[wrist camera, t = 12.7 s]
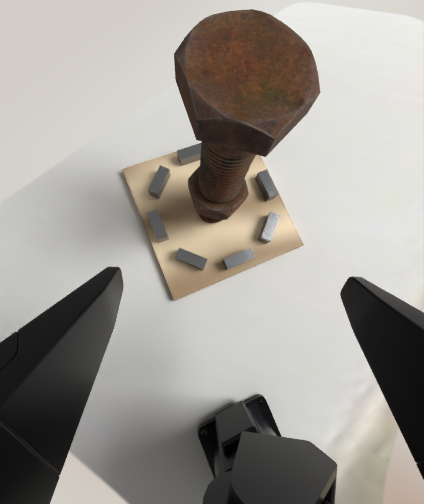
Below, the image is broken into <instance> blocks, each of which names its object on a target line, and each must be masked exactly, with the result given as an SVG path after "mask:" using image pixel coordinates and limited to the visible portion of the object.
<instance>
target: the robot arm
mask: <svg viewBox="0 0 424 504" xmlns="http://www.w3.org/2000/svg"><path fill="white" fill-rule="evenodd" d="M122 292H123V279H122V273H121V269H120V268H119V267H107V268H106V269H104V270H103V271H101V272H100V273H98V274H97V275H96V276H94V277H93V278H91V279H90V280H88V281H87V282H86V283H84V284H83V285H81V286H80V287H79V288H77V289H76V290H74V291H73V292H71V293H70V294H69V295H67V296H66V297H64V298H63V299H62V300H60V301H59V302H57V303H56V304H54V305H53V306H52V307H50V308H49V309H47V310H46V311H45V312H43V313H42V314H40V315H39V316H37V317H36V318H35V319H33V320H32V321H30V322H29V323H28V324H26V325H25V326H23V327H22V328H20V329H19V330H18V332H15V333H13V334H12V335H10V336H9V337H8V338H6V339H5V340H3V341H2V342H0V504H50V501H51V499H52V496H53V493H54V490H55V488H56V485H57V482H58V480H59V475H60V474H61V471H62V468H63V465H64V463H65V460H66V457H67V455H68V452H69V449H70V446H71V444H72V441H73V438H74V435H75V433H76V430H77V427H78V425H79V422H80V419H81V416H82V414H83V411H84V408H85V405H86V403H87V400H88V397H89V394H90V392H91V389H92V386H93V384H94V381H95V378H96V375H97V373H98V370H99V367H100V364H101V362H102V359H103V356H104V353H105V351H106V348H107V345H108V343H109V340H110V337H111V334H112V332H113V329H114V325H115V322H116V317H117V313H118V309H119V305H120V300H121V296H122ZM340 295H341V299H342V302H343V305H344V307H345V310H346V313H347V316H348V318H349V321H350V324H351V327H352V329H353V332H354V334H355V336H356V338H357V340H358V342H359V345H360V347H361V349H362V351H363V353H364V355H365V357H366V359H367V361H368V363H369V366H370V368H371V370H372V372H373V374H374V376H375V378H376V380H377V382H378V384H379V387H380V389H381V391H382V393H383V395H384V397H385V399H386V401H387V403H388V405H389V408H390V410H391V412H392V414H393V416H394V418H395V420H396V422H397V424H398V426H399V429H400V431H401V433H402V435H403V437H404V439H405V441H406V443H407V445H408V447H409V449H410V452H411V454H412V456H413V458H414V460H415V462H416V463H417V467H418V469H419V471H420V473H421V475H422V477H423V479H424V313H423V312H422V311H420V310H418V309H416V308H415V307H413V306H411V305H409V304H407V303H406V302H404V301H402V300H400V299H399V298H397V297H395V296H393V295H392V294H390V293H388V292H386V291H385V290H383V289H381V288H379V287H378V286H376V285H374V284H372V283H371V282H369V281H367V280H365V279H364V278H362V277H349V278H348V279H347V281H346V283H345V285H344V286H343V288H342V290H341V294H340ZM260 399H261V400H262V403H260V404H259V403H258V401H259V400H260ZM202 430H206V433H204V434H203V433H201V431H202ZM198 436H199V439H200V441H201V444H202V447H203V449H204V452H205V455H206V457H207V460H208V463H209V465H210V468H211V470H212V473H213V476H214V478H215V479H214V480H213V481H212V482H211V483H210V484H209V485H208V488H207V490H206V493H205V495H204V498H203V503H202V504H335V490H336V475H337V464H336V462H335V461H333V460H332V459H331V458H330V457H329V456H327V455H326V454H325V453H324V452H322V451H321V450H320V449H319V448H317V447H316V446H315V445H314V444H312V443H311V442H309V441H305V440H299V439H292V438H286V437H281V435H280V432H279V430H278V427H277V425H276V423H275V420H274V418H273V416H272V413H271V411H270V409H269V406H268V404H267V401H266V399H265V398H264V396H262V395H260V394H259V395H256V396H254V397H253V398H251V399H249V400H247V401H245V402H242V401H240V402H238V403H236V404H234V405H233V406H231V407H229V408H227V409H225V410H223V411H221V412H219V413H217V414H216V417H215V418H213V419H211V420H209V421H207V422H205V423H203V424H201V425H200V426H199V428H198Z"/></svg>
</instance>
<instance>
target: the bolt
mask: <svg viewBox="0 0 424 504" xmlns="http://www.w3.org/2000/svg"><path fill="white" fill-rule="evenodd" d="M174 60H175V76H176V82H177V85H178V88H179V91H180V94H181V97H182V100H183V103H184V106H185V108H186V111H187V114H188V117H189V120H190V123H191V125H192V128H193V131H194V134H195V137H196V140H199V141H202V143H201V158H200V166H199V167H198V168H197V169H196V170H195V171H194V172H193V174H192V175H191V176H190V177H189V179H188V188H189V192H190V195H191V198H192V201H193V204H194V207H195V210H196V212H197V213H198V215H199V217H200V218H201V219H202V220H203V221H205V222H207V223H218V222H220V221H222V220H227V219H228V218H229V217H230V216H231V215H232V214H233V213H234V212H235V211H236V210H237V209H238V208H239V207H240V206H241V205H242V203H243V202H244V201H245V200H246V198H247V197H248V195H249V192H248V187H247V183H246V180H245V176H246V174H247V172H248V171H249V168H250V165H251V163H252V161H253V160H254V158H255V156H256V155H260V156H264V157H266V156H267V155H268V154H269V153H270V152H271V151H272V150H273V149H274V148H275V146H276V145H277V144H278V143H279V142H280V141H281V140H282V139H283V138H284V137H285V136H286V135H287V134H288V133H289V132H290V131H291V130H292V129H293V128H294V127H295V126H296V125H297V124H298V122H299V121H300V120H301V119H302V118H303V117H304V116H305V115H306V114H307V113H308V111H309V109H310V108H311V106H312V105H313V103H314V102H315V100H316V99H317V97H318V95H319V94H320V86H319V78H318V72H317V67H316V63H315V60H314V57H313V54H312V51H311V50H310V48H309V46H308V45H307V44H306V42H305V41H304V40H303V39H302V38H301V37H300V36H299V35H298V34H296V33H295V32H294V31H293V30H292V29H291V28H289V27H288V26H287V25H285V24H284V23H282V22H281V21H279V20H278V19H276V18H275V17H273V16H272V15H270V14H267V13H265V12H262V11H257V10H238V11H228V12H224V13H218V14H214V15H211V16H209V17H206V18H205V19H203V20H202V21H200V22H199V23H198V24H197V25H196V26H195V27H194V28H193V29H192V30H191V31H190V33H189V34H188V35H187V36H186V37H185V38H184V40H183V41H182V43H181V44H180V46H179V48H178V49H177V50H176V52H175V53H174Z"/></svg>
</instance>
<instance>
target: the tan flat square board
mask: <svg viewBox="0 0 424 504" xmlns="http://www.w3.org/2000/svg"><path fill="white" fill-rule="evenodd" d="M160 165H161V166H163V167H166V168H168V169H170V175H171V176H170V178H169V180H168V182H167V184H166V186H165V188H164V190H163V192H162V194H161V196H160V198H159V199H158V198H155V197H153V196H150V195H149V192H148V188H149V186H150V184H151V182H152V180H153V178H154V176H155V174H156V172H157V170H158V168H159V166H160ZM199 166H200V160H198V161H195V162H192V163H189V164H187V165H184V166H181V165H180V163H179V160H178V158H177V152H174V153H171V154H168V155H165V156H162V157H158V158H155V159H152V160H149V161H146V162H143V163H140V164H137V165H134V166H131V167H128V168H125V169H122V170H123V172H124V175H125V178H126V180H127V183H128V185H129V188H130V190H131V193H132V195H133V198H134V200H135V203H136V205H137V208H138V210H139V213H140V216H141V218H142V221H143V223H144V226H145V228H146V231H147V233H148V236H149V238H150V241H151V243H152V246H153V248H154V251H155V253H156V256H157V259H158V261H159V264H160V266H161V269H162V271H163V274H164V276H165V279H166V281H167V284H168V286H169V289H170V291H171V294H172V297H173V299H174V301H175V300H177V299H179V298H182V297H184V296H186V295H189V294H191V293H193V292H196V291H198V290H200V289H203V288H205V287H207V286H210V285H212V284H214V283H217V282H219V281H221V280H224V279H226V278H228V277H231V276H233V275H235V274H238V273H240V272H242V271H245V270H247V269H249V268H252V267H254V266H256V265H259V264H261V263H263V262H265V261H268V260H270V259H272V258H275V257H277V256H279V255H282V254H284V253H286V252H289V251H291V250H293V249H296V248H298V247H300V246H303V245H304V244H303V242H302V240H301V238H300V236H299V234H298V232H297V230H296V228H295V226H294V224H293V222H292V220H291V218H290V216H289V213H288V211H287V209H286V207H285V205H284V203H283V201H282V199H281V197H280V195H279V194H278V195H277V196H276V197H275V199H272V200H270V201H267V202H266V201H265V199H264V197H263V195H262V193H261V191H260V188H259V186H258V184H257V182H256V180H255V177H256V175H257V173H258V172H261V171H263V170H266V169H267V168H266V166H265V164H264V162H263V160H262V158H261V156H260V155H256V156H255V158H254V160H253V161H252V163H251V165H250V168H249V171H248V172H247V174H246V176H245V180H246V183H247V187H248V192H249V195H248V197H247V198H246V200H245V201H244V202H243V203H242V205H241V206H240V207H239V208H238V209H237V210H236V211H235V212H234V213H233V214H232V215H231V216H230V217H229V218H228V219H227V220H222V221H220V222H218V223H207V222H205V221H203V220H202V219H201V218H200V217H199V215H198V213H197V212H196V210H195V207H194V204H193V201H192V198H191V195H190V192H189V188H188V179H189V177H190V176H191V175H192V174H193V172H194V171H195V170H196V169H197V168H198V167H199ZM267 171H268V170H267ZM268 173H269V172H268ZM269 175H270V174H269ZM270 177H271V176H270ZM271 179H272V178H271ZM156 209H157V210H158V213H159V215H160V218H161V220H162V223H163V225H164V227H165V230H166V232H167V235H168V237H169V239H168V240H166V241H163V242H161V243H159V242H158V240H157V237H156V235H155V232H154V230H153V227H152V225H151V222H150V220H149V217H148V215H147V212H150V211H153V210H156ZM270 212H273V213H275V214H278V215H280V217H279V220H278V223H277V225H276V228H275V231H274V234H273V237H272V239H271V242H269V243H267V244H266V243H263V242H261V241H259V240H258V238H259V235H260V232H261V229H262V227H263V224H264V221H265V219H266V216H267V215H268V214H269V213H270ZM179 247H180V248H182V249H184V250H187V251H189V252H192V253H194V254H196V255H199V256H201V257H204V258H206V259H208V260H207V262H206V265H205V267H204V270H200V269H198V268H196V267H193V266H191V265H188V264H186V263H183V262H181V261H179V260H176V259H175V256H176V254H177V252H178V249H179ZM250 248H251V249H252V252H253V254H254V256H255V258H254V259H252V260H250V261H247V262H245V263H243V264H240V265H238V266H235V267H233V268H231V269H228V270H226V269H225V267H224V264H223V262H222V260H223V259H225V258H228V257H230V256H233V255H235V254H237V253H240V252H242V251H245V250H247V249H250Z"/></svg>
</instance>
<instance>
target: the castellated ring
mask: <svg viewBox="0 0 424 504" xmlns="http://www.w3.org/2000/svg"><path fill="white" fill-rule="evenodd" d="M177 158H178V160H179V163H180V165H181V166H184V165H187V164H189V163H192V162H195V161H198V160H200V158H201V143H200V144H197V145H193V146H190V147H187V148H184V149H181V150H178V151H177ZM170 176H171V175H170V169H168V168H166V167H163V166H161V165H160V166H159V168H158V170H157V172H156V174H155V176H154V178H153V180H152V182H151V184H150V186H149V188H148V192H149V195H150V196H153V197H155V198H158V199H159V198H160V196H161V194H162V192H163V190H164V188H165V186H166V184H167V182H168V180H169V178H170ZM255 180H256V182H257V184H258V186H259V188H260V191H261V193H262V195H263V197H264V199H265V201H266V202H267V201H270V200H272V199H275V197H276V196H277V195H278V194H279V193H278V191H277V189H276V187H275V185H274V183H273V181H272V179H271V177H270V175H269V173H268V171H267V169H266V170H263V171H261V172H258V173H257V175H256V177H255ZM147 215H148V217H149V220H150V222H151V225H152V227H153V230H154V232H155V235H156V237H157V240H158V242H159V243H161V242H163V241H166V240H168V239H169V237H168V235H167V232H166V230H165V227H164V225H163V223H162V220H161V218H160V215H159V213H158V210H157V209H156V210H153V211H150V212H147ZM279 217H280V215H278V214H275V213H273V212H270V213H269V214H268V215H267V216H266V219H265V221H264V224H263V227H262V229H261V232H260V235H259V238H258V240H259V241H261V242H263V243H266V244H267V243H269V242H271V239H272V237H273V234H274V231H275V228H276V225H277V223H278V220H279ZM254 258H255V256H254V254H253V252H252V249H251V248H250V249H247V250H245V251H242V252H240V253H237V254H235V255H233V256H230V257H228V258H225V259H223V260H222V262H223V264H224V267H225V269H226V270H228V269H231V268H233V267H235V266H238V265H240V264H243V263H245V262H247V261H250V260H252V259H254ZM175 259H176V260H179V261H181V262H183V263H186V264H188V265H191V266H193V267H196V268H198V269H200V270H204V267H205V265H206V262H207V260H208V259H206V258H204V257H201V256H199V255H196V254H194V253H192V252H189V251H187V250H184V249H182V248H180V247H179V249H178V252H177V254H176V256H175Z"/></svg>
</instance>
